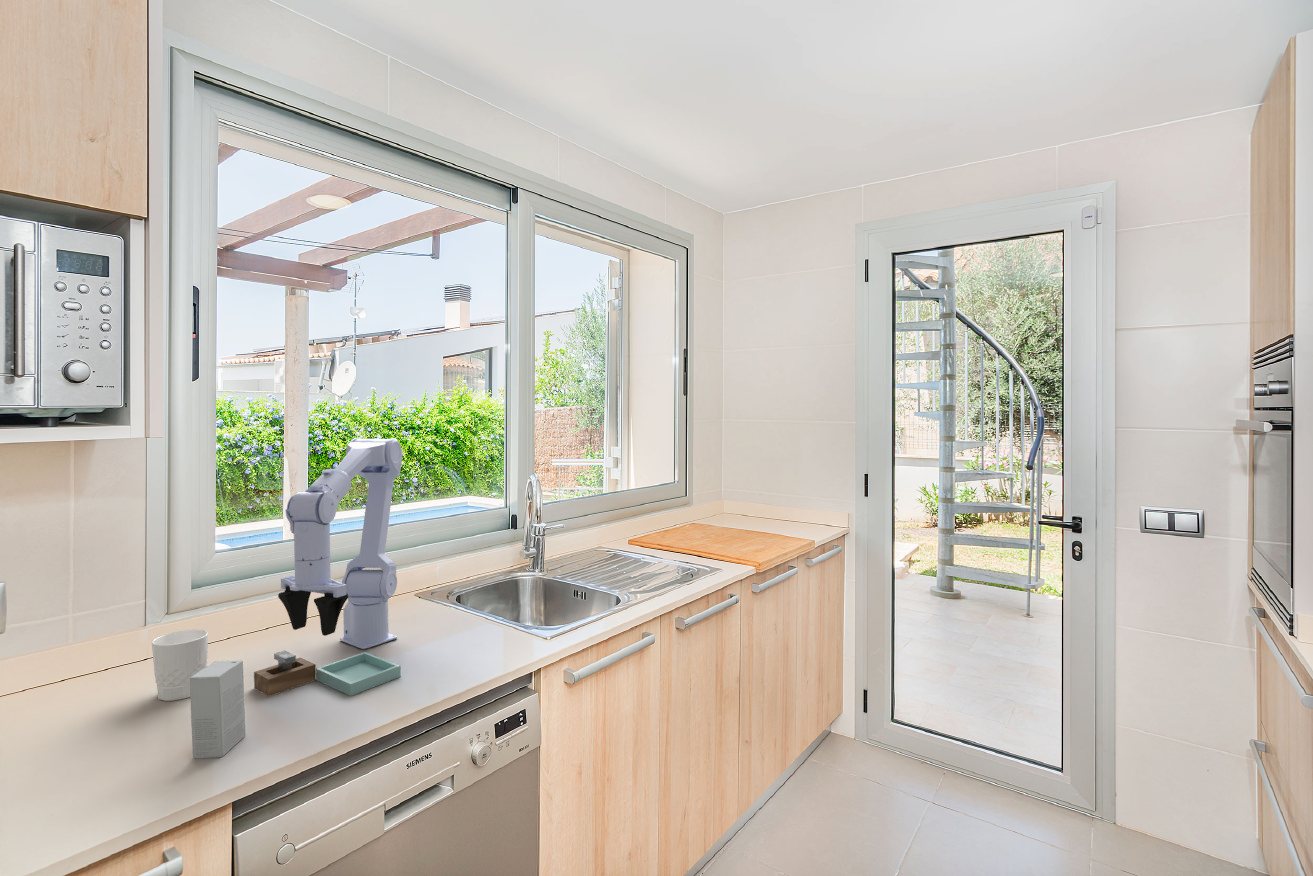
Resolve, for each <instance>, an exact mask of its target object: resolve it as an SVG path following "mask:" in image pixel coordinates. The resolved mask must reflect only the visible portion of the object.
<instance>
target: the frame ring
mask: <svg viewBox="0 0 1313 876" xmlns="http://www.w3.org/2000/svg"><path fill="white" fill-rule="evenodd" d="M314 681H317V680H316V663H313V662H311V661H309V660H307V659H305V658H303V657H298V658H297V657H296V661H294V662H292V669H291V670H288V671H285V672H281V673H278V664H274V665H272V666H269V667H265V668H263V669H258V670H256V671H254V672H253V684H254V685H253V686H254V687H253V688H254V690H257V691H259V692H260V693H262V694H264V695H266V696H268V697H271V696H275V695H277V694H280V693H284V692H286V691H288V690H291V689H295V688H297V687H300V686H304V685H306V684H309V683H311V682H314Z"/></svg>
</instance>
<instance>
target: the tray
mask: <svg viewBox="0 0 1313 876" xmlns="http://www.w3.org/2000/svg"><path fill="white" fill-rule="evenodd" d="M315 669H316V680H315V681H318V682H320V683H322V684H325V685H327V686H328V687H331V688H333V689H336V690H338V691H339V692H341V693H344V694H346V695H348V696H349V697H351V696H355V695H357V694H361V693H362V692H364V691H367V690H369V689H372V688H375V687H377V686H380V685H383V684H386V683H388V682H390V681H393V680H395V679H398V678H401V675H402V674H401V673H402V672H401V670H402V669H401V665H399V663H398V664H397V663H395V662H392V661H390V660H388V659H385V658H382V657H380V656H376V655H375V654H372V653H369V652H367V651H364V652H361V653H358V654H355V655H353V656H349V657H347V658H343V659H340V660H337V661H335V662H331V663H329V664H328V663H327V664H326V665H321V666H320V667H315Z"/></svg>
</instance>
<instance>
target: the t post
mask: <svg viewBox="0 0 1313 876" xmlns="http://www.w3.org/2000/svg"><path fill="white" fill-rule="evenodd" d="M296 659H297V657H296V655H295V654H293V653H291V652H289V651H287V650H282V651H278V652H275V653H273V660H276V661H277V665H278V673H281V672H285V671H288V670H291V669H292V662H294V661H296Z"/></svg>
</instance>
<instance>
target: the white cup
mask: <svg viewBox="0 0 1313 876" xmlns="http://www.w3.org/2000/svg"><path fill="white" fill-rule="evenodd" d="M151 648H152V661H153V671H154V678H155V684H156V689H157V690H156V691H157V698H158V700H160V701H166V702H167V701H168V702H170V701H173V702H174V701H178V700H183V699H187V698H190V677H192V676H193V675H195V674H197V673H198V672H200V671H201V670H203V669H204V668H206V667H207V666H208V657H209V656H208V648H209V631H207V630H205V629H195V628H194V629H185V630H177V631H173V632H168V633H166V634H163V635H161V636H158V637H155V638H154V639H153V640H152V641H151Z"/></svg>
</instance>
